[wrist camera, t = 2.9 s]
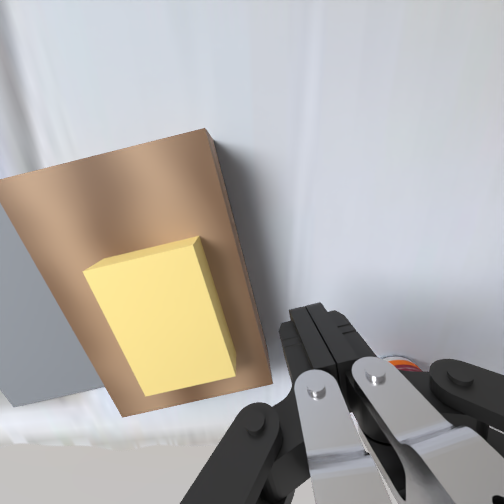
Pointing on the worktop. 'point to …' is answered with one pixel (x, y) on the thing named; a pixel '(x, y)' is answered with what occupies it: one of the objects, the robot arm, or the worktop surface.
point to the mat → (35, 332)
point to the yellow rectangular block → (165, 315)
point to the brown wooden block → (137, 248)
